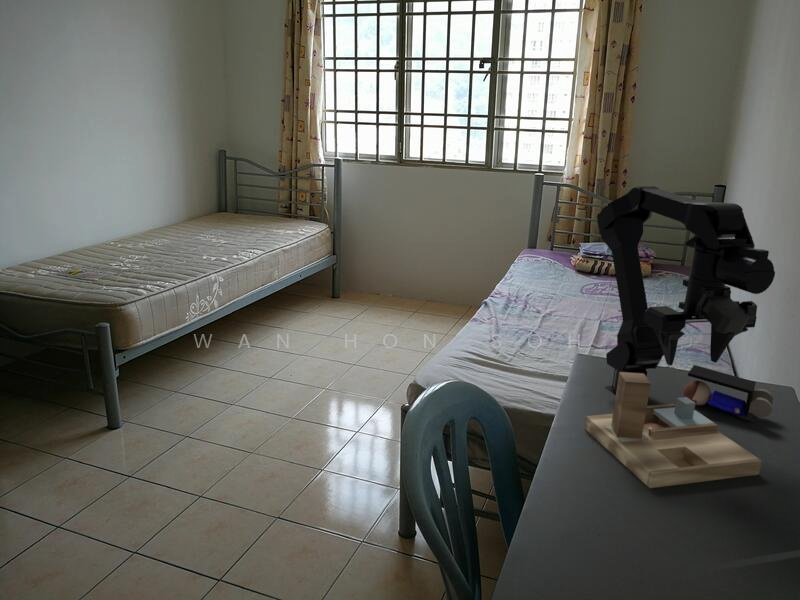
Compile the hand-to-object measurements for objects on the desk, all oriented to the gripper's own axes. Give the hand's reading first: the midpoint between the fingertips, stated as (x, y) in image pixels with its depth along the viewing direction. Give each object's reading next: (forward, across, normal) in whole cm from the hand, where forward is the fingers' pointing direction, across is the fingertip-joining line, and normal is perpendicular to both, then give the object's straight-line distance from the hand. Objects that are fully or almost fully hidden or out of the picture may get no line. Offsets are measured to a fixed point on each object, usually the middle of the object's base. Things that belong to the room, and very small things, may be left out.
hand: (691, 363), depth 113 cm
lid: (+10, -2, -2) cm, 10 cm away
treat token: (+12, -7, -2) cm, 14 cm away
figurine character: (+13, +14, +5) cm, 20 cm away
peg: (+10, -14, -4) cm, 18 cm away
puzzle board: (+13, -8, -7) cm, 17 cm away
